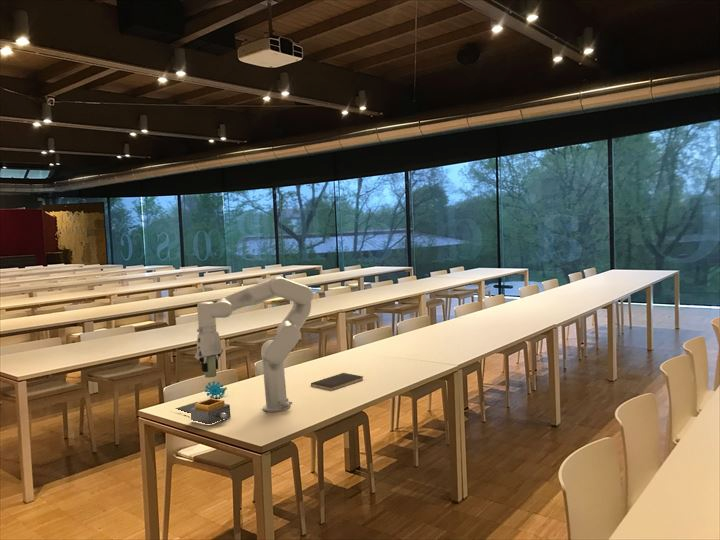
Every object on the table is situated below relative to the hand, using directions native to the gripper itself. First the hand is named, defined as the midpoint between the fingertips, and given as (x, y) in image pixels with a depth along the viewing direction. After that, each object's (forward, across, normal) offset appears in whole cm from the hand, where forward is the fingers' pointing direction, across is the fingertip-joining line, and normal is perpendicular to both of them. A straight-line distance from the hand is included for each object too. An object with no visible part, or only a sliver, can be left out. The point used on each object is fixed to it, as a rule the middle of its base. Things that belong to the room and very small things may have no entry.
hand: (210, 369), depth 256 cm
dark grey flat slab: (+23, +3, +18) cm, 29 cm away
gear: (+22, +22, +26) cm, 41 cm away
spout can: (+3, 0, 0) cm, 3 cm away
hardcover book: (+21, +68, -15) cm, 73 cm away
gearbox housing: (+22, -2, -3) cm, 22 cm away
